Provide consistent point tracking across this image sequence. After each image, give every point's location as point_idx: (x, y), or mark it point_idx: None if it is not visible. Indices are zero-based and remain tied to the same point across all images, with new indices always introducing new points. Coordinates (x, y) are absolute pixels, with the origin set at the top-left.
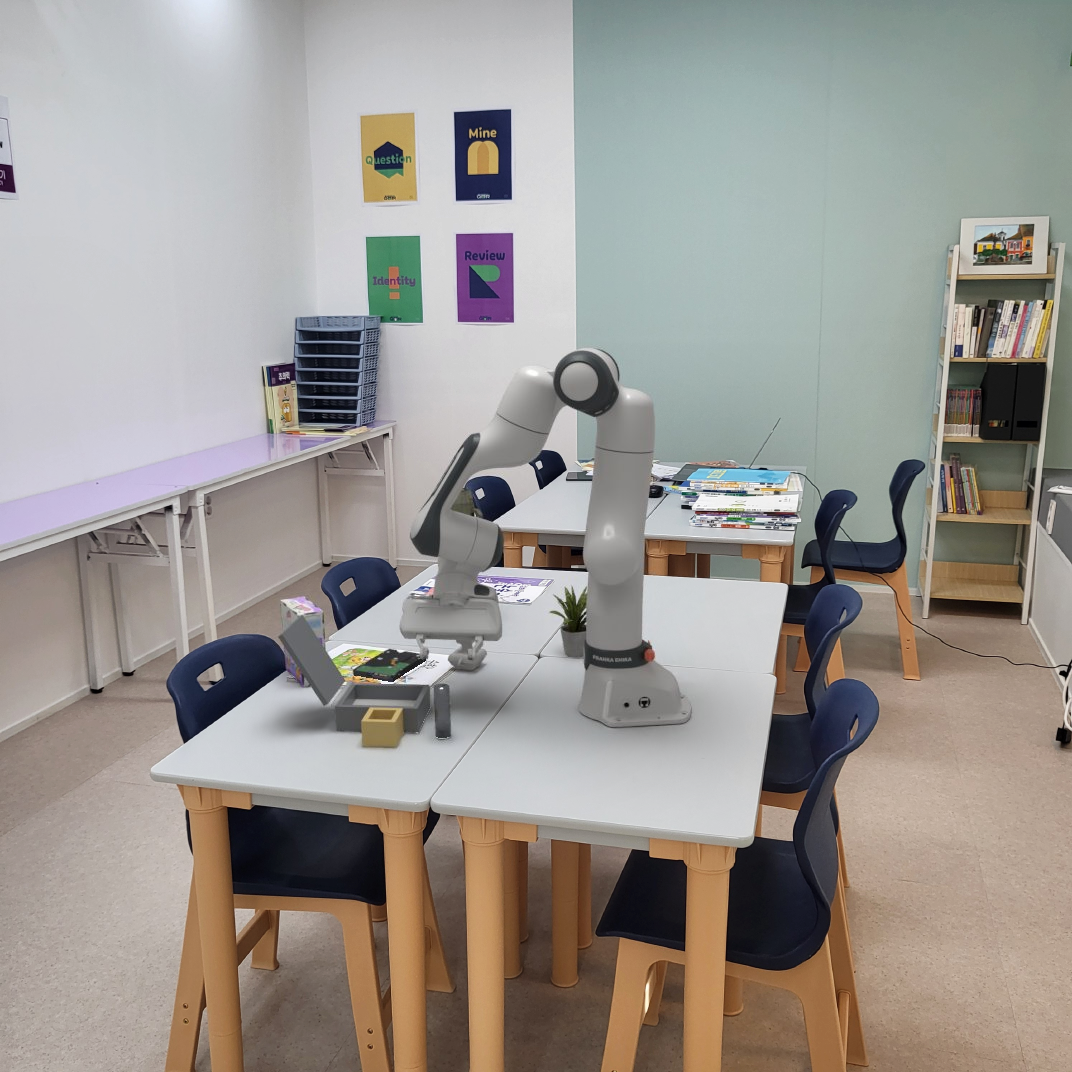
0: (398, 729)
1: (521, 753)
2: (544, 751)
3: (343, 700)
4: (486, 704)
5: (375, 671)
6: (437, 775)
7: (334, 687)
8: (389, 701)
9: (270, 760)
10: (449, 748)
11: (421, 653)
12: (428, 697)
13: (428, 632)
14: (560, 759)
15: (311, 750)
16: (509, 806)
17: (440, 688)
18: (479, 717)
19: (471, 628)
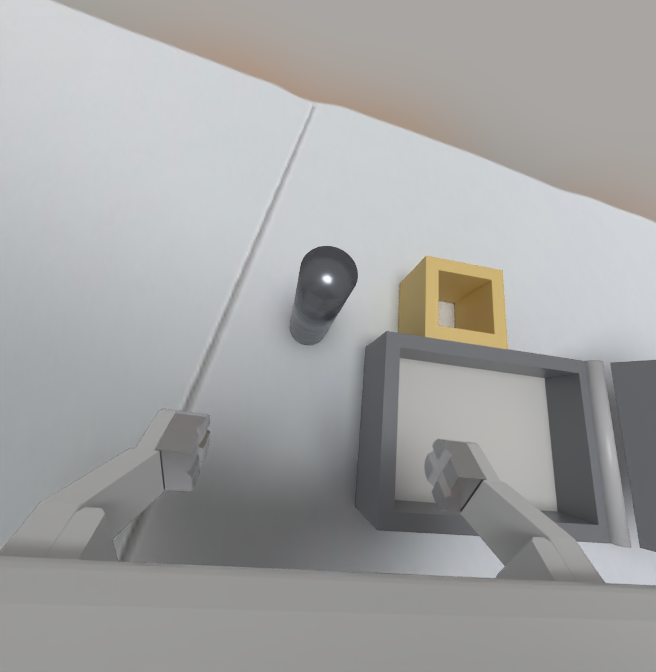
0: (411, 295)
1: (128, 225)
2: (69, 227)
3: (584, 400)
4: (189, 536)
5: None
6: (308, 168)
7: (645, 451)
8: None
9: (592, 260)
10: (291, 267)
11: (471, 445)
12: (368, 491)
13: (530, 580)
14: (38, 187)
15: (545, 289)
16: (183, 58)
17: (331, 255)
18: (216, 434)
19: (70, 627)
